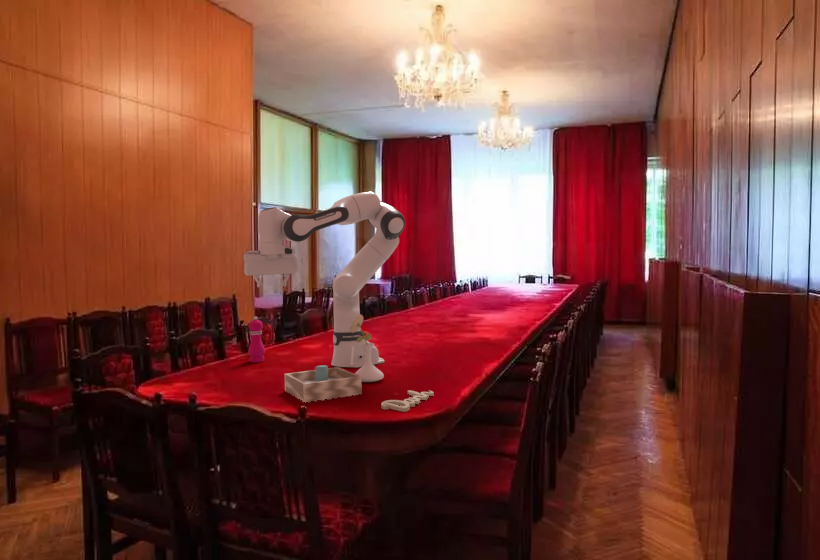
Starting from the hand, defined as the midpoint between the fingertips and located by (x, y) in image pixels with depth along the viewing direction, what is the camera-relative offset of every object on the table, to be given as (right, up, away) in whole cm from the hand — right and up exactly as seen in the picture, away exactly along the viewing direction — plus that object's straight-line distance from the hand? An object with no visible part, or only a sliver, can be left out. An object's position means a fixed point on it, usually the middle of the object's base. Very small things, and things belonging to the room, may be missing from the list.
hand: (272, 286), depth 234 cm
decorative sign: (+52, -37, -39) cm, 75 cm away
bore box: (+23, -36, -25) cm, 49 cm away
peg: (+23, -36, -25) cm, 49 cm away
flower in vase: (+37, -35, -9) cm, 51 cm away
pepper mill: (-15, -34, +39) cm, 54 cm away
